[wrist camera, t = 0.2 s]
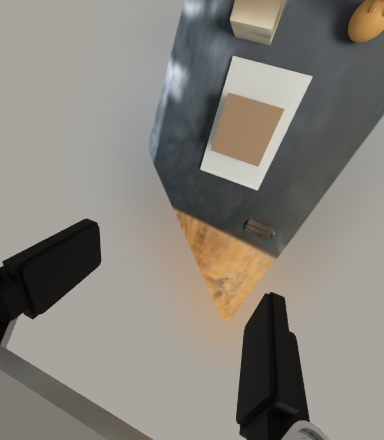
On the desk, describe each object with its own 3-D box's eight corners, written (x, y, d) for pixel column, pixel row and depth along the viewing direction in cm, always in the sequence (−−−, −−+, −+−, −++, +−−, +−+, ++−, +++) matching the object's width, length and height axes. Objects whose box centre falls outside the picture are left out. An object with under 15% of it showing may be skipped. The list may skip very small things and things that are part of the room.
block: (249, 215, 41) (248, 218, 39) (277, 226, 39) (277, 229, 38) (243, 229, 42) (242, 232, 40) (269, 240, 41) (269, 244, 39)
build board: (233, 57, 29) (227, 42, 24) (311, 77, 27) (323, 66, 22) (201, 168, 38) (191, 175, 33) (257, 189, 36) (256, 199, 31)
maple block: (250, -15, 25) (247, -47, 21) (289, -8, 25) (295, -38, 20) (235, 37, 28) (229, 20, 24) (270, 45, 27) (271, 29, 23)
